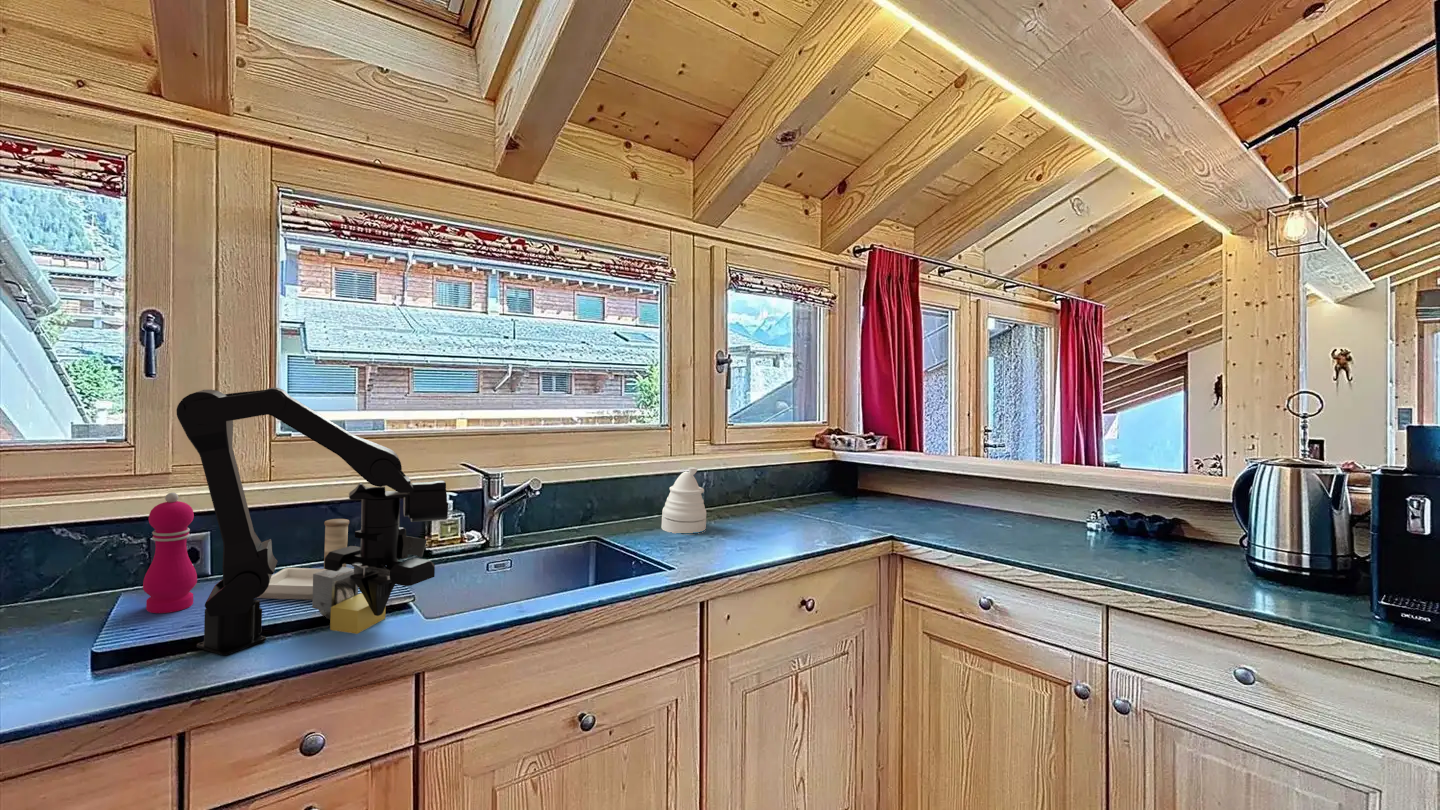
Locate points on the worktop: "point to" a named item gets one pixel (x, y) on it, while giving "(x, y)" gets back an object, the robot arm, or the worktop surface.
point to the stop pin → (335, 535)
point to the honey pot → (684, 506)
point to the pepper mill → (170, 558)
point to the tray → (291, 584)
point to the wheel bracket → (332, 589)
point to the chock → (353, 615)
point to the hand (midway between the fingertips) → (378, 614)
